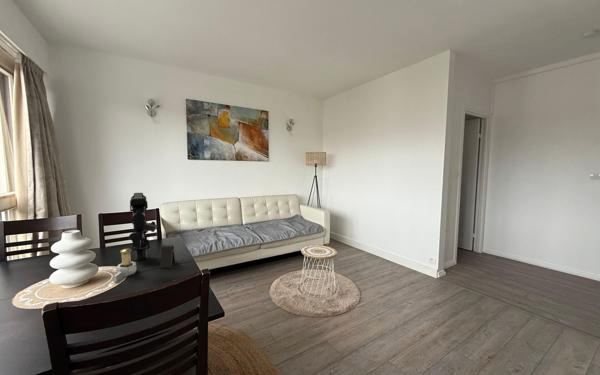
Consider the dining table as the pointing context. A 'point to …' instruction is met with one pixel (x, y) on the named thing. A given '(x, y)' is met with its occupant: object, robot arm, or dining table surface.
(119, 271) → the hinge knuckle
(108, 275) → the dining table surface
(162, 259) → the door stopper
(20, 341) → the dining table surface
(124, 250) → the yellow tall cylinder
